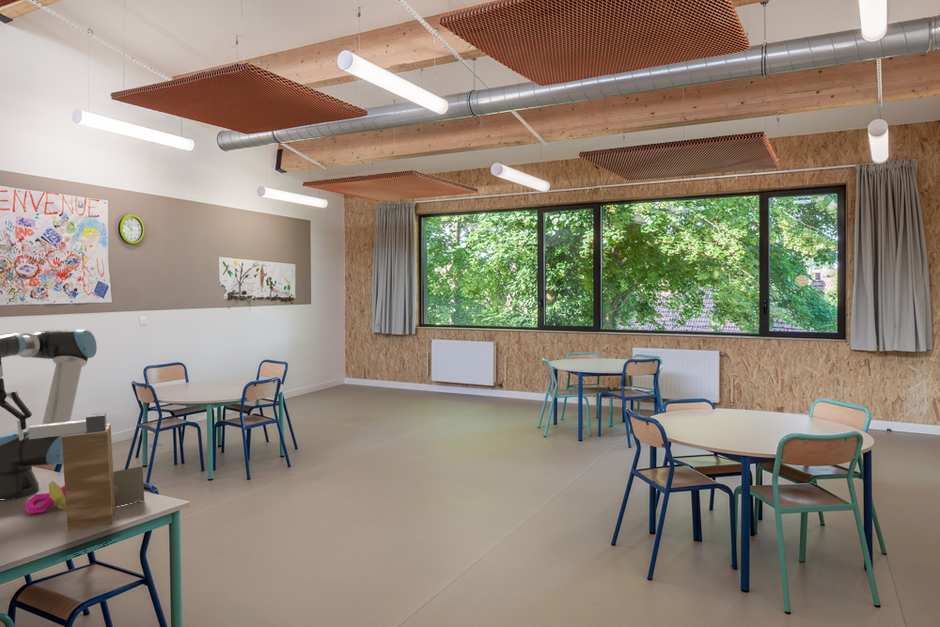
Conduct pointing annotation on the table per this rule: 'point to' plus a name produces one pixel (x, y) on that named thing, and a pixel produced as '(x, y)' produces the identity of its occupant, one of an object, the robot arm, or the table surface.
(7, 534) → the table surface
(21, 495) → the robot arm
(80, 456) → the stand
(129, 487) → the laptop
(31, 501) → the toy
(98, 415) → the metal block
